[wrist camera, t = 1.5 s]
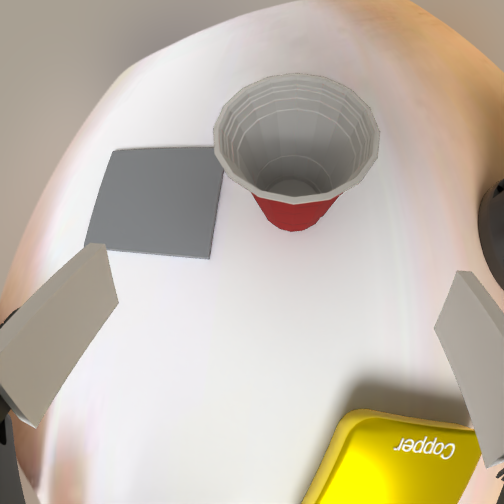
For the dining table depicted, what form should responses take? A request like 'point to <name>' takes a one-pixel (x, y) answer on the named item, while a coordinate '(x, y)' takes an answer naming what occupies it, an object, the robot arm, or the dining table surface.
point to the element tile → (394, 461)
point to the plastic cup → (296, 145)
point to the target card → (158, 202)
